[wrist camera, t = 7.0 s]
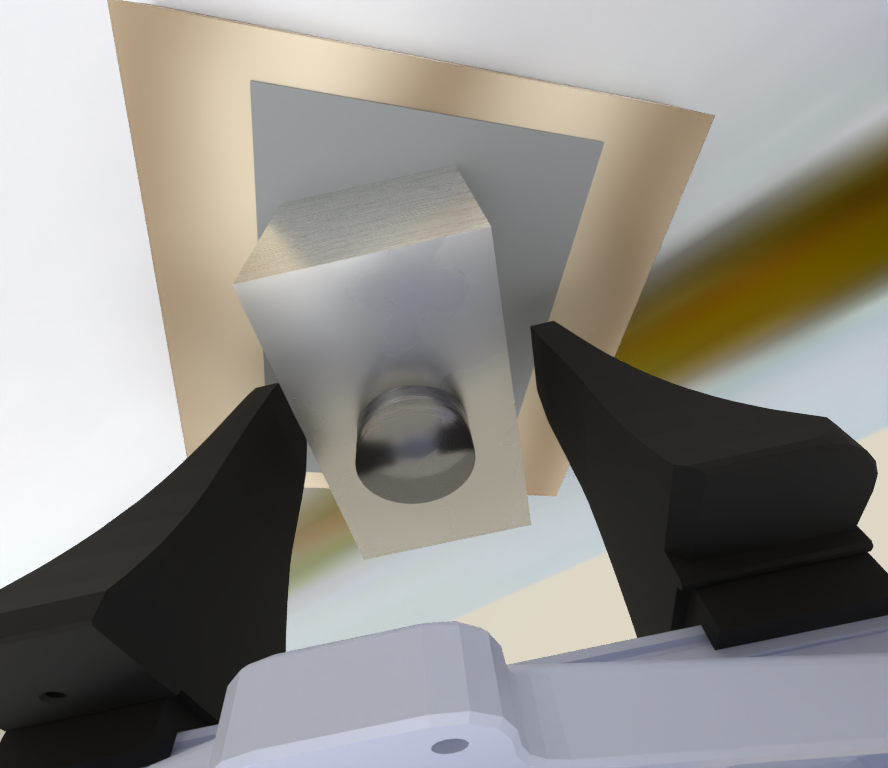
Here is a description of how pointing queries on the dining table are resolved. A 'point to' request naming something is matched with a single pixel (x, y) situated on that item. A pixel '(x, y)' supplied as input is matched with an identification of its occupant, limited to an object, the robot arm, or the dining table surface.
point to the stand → (376, 159)
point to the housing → (394, 356)
